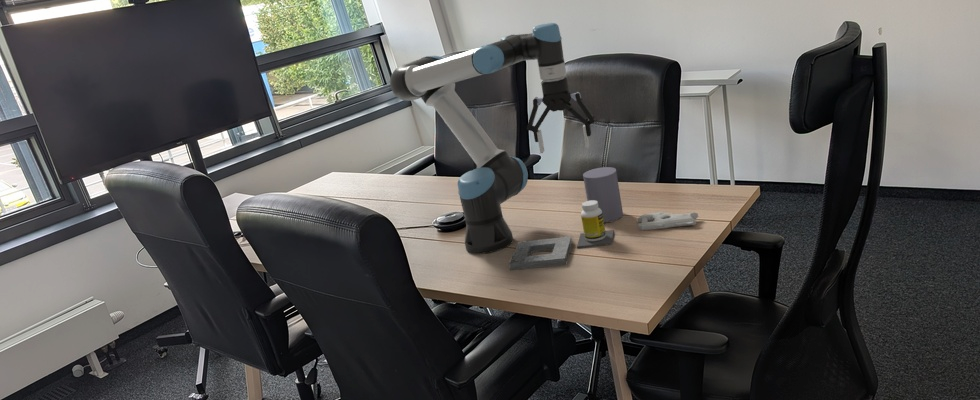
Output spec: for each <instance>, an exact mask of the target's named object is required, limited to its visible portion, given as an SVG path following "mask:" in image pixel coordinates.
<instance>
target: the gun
mask: <svg viewBox="0 0 980 400" xmlns="http://www.w3.org/2000/svg"><path fill="white" fill-rule="evenodd" d="M698 218H699V214H698V213H697V212H687V213H679V214H676V213H667V212H665V211H659V212H658V211H657V212H650V213H643V214H641V215H640V216H638V217H637V218H636V221H637V223H638V224H637V227H638V229H639V230H641V231H647V230H648V231H651V230H660V229H661V230H662V229H669V228H674V227H685V226H686V227H687V226H695V225H696V224H697V219H698Z"/></svg>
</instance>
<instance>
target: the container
mask: <svg viewBox="0 0 980 400" xmlns="http://www.w3.org/2000/svg"><path fill="white" fill-rule="evenodd" d="M582 178H583V183H584V190H585V194H586V201H590V200H595V201H597V202H598V208H600V209H601V210H602V215H603V221H604V224H606V223H612V222H615V221H618V220H619V219H621V218H622V217H623V216H624V211H623V205H622V199H621V193H620V192H621V191H620V186H619V182H618V181H619V180H618V173H617V169H616V168H615V167H612V166H611V167H610V166H609V167H608V166H603V167H596V168H593V169H590V170H587V171H585V172H584V173H582Z"/></svg>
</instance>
